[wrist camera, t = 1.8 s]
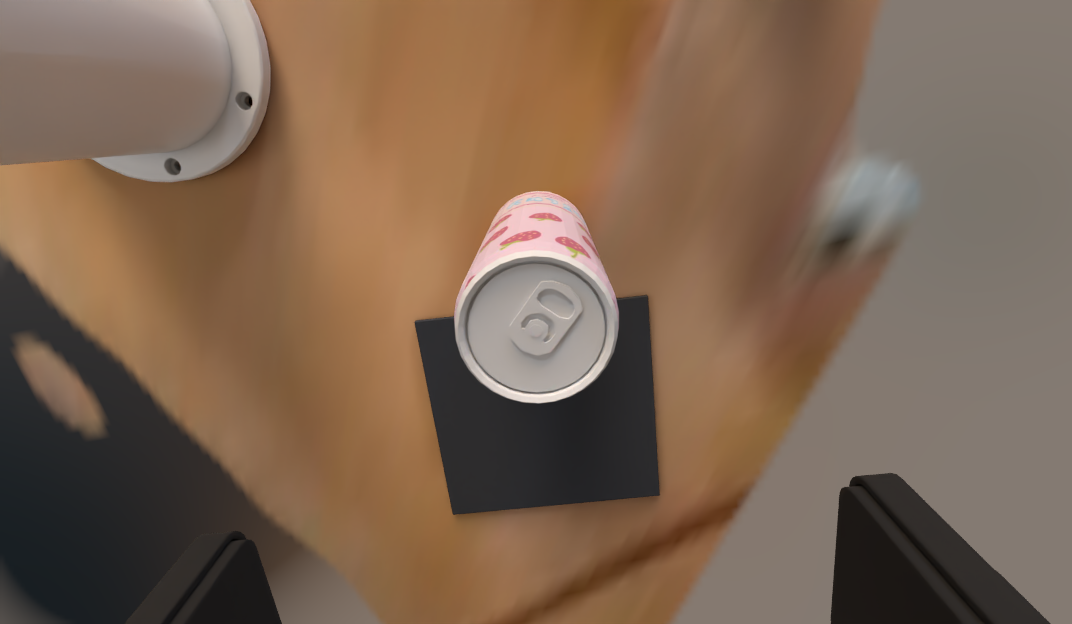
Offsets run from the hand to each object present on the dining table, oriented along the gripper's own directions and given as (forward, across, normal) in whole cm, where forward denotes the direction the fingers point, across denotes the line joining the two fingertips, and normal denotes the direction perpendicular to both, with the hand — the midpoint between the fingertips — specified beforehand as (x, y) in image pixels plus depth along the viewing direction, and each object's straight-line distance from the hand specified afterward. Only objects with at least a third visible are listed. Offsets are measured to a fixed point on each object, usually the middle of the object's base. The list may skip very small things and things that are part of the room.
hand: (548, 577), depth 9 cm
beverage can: (+25, 0, 0) cm, 25 cm away
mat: (+25, +1, +10) cm, 27 cm away
